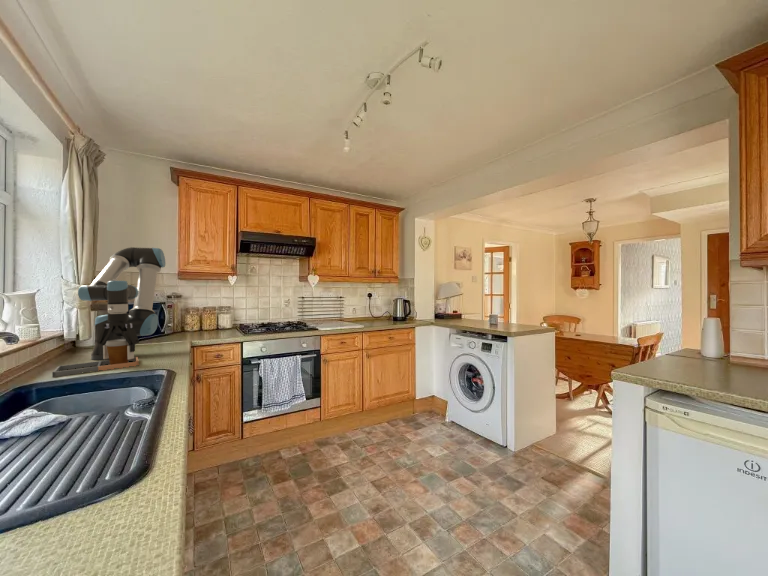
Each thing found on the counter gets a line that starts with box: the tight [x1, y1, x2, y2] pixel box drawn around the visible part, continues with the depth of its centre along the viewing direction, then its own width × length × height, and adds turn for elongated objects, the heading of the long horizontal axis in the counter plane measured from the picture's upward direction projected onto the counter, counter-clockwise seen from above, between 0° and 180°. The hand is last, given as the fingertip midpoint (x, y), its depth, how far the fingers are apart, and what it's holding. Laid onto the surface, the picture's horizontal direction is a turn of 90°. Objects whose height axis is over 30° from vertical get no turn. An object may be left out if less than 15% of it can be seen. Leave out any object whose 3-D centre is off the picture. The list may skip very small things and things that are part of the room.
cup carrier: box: [52, 356, 140, 378], centre depth 147 cm, size 15×28×2 cm, turn 129°
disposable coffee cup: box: [105, 338, 129, 365], centre depth 151 cm, size 10×10×12 cm
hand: (118, 358), depth 151 cm, fingers open, 12 cm apart
